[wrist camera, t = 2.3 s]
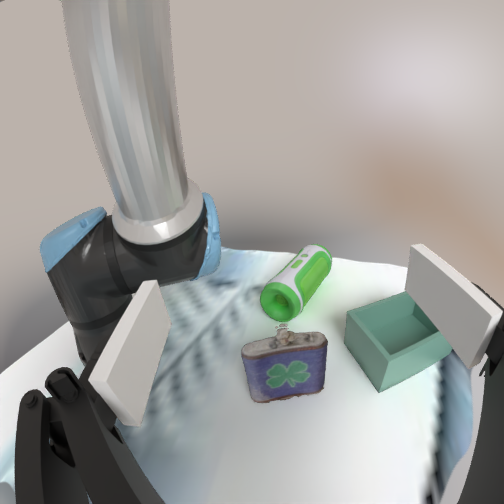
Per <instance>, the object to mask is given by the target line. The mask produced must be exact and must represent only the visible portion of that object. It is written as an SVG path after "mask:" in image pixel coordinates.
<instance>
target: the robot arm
mask: <svg viewBox="0 0 504 504" xmlns="http://www.w3.org/2000/svg"><path fill="white" fill-rule="evenodd" d="M1 1H4V0H0V2H1ZM60 1H61V2H62V5H63V6H62V7H63V15H64V22H65V28H66V35H67V41H68V47H69V52H70V57H71V61H72V66H73V70H74V75H75V79H76V83H77V87H78V91H79V95H80V98H81V101H82V105H83V109H84V112H85V116H86V119H87V122H88V125H89V128H90V132H91V135H92V138H93V141H94V143H95V147H96V149H97V152H98V155H99V158H100V161H101V163H102V166H103V169H104V171H105V174H106V177H107V179H108V182H109V184H110V187H111V189H112V192H113V194H114V197H115V199H116V203H115V205H114V208H113V212H112V215H110V216H107V212H106V211H105V210H104V208H103V207H98V208H95V209H91V210H90V211H87V212H85V213H82V214H80V215H78V216H76V217H74V218H73V219H71V220H69V221H67V222H65V223H64V224H62V225H60V226H59V227H57V228H56V229H54V230H53V231H52V232H50V233H49V234H47V235H46V236H45V237H44V238H43V240H42V242H41V244H40V253H41V256H42V260H43V263H44V266H45V272H46V273H47V274H48V277H49V279H50V281H51V283H52V286H53V288H54V290H55V292H56V295H57V297H58V299H59V301H60V303H61V305H62V307H63V309H64V311H65V313H66V315H67V317H68V319H69V321H70V323H71V325H72V327H73V330H74V335H75V340H76V345H77V349H78V353H79V357H80V359H81V361H82V363H83V365H84V366H85V368H84V370H83V372H82V374H81V376H80V378H79V380H78V378H77V377H76V375H75V374H74V372H73V371H72V370H71V369H70V368H68V367H61V368H58V369H56V370H54V371H53V372H51V374H50V375H49V376H48V377H47V379H46V381H45V388H46V389H47V390H48V392H49V393H50V394H51V395H52V396H53V397H49V398H46V397H45V396H44V395H43V394H42V392H41V391H39V390H37V389H35V390H31V391H28V392H27V393H26V394H25V395H24V396H23V397H22V399H21V402H20V407H19V414H18V421H17V431H16V443H15V495H16V504H89V501H88V496H87V493H88V495H89V497H90V499H91V501H92V503H93V504H165V503H164V501H163V500H162V499H161V497H160V496H159V495H158V493H157V492H156V490H155V489H154V488H153V486H152V485H151V483H150V482H149V480H148V479H147V477H146V476H145V474H144V473H143V471H142V470H141V468H140V466H139V465H138V463H137V462H136V460H135V458H134V457H133V455H132V453H131V451H130V450H129V448H128V446H127V444H126V443H125V441H124V439H123V437H122V435H121V433H120V431H119V430H118V428H117V427H116V426H115V421H116V418H118V419H119V420H120V421H121V423H122V424H123V425H128V426H136V427H141V423H142V419H143V416H144V412H145V409H146V405H147V401H148V398H149V395H150V391H151V388H152V384H153V381H154V378H155V374H156V371H157V368H158V365H159V361H160V358H161V355H162V352H163V349H164V346H165V343H166V340H167V337H168V334H169V331H170V328H171V325H172V323H171V320H170V317H169V315H168V312H167V309H166V306H165V303H164V300H163V297H162V294H161V291H160V288H159V287H162V286H167V285H171V284H175V283H180V282H184V281H189V280H190V281H193V280H197V279H198V278H199V277H203V276H206V275H209V274H212V273H213V272H215V271H216V269H217V268H218V266H219V263H220V258H221V239H220V236H219V231H220V229H219V221H218V215H217V211H216V207H215V204H214V201H213V199H212V197H211V196H210V194H208V193H202V192H201V190H200V188H199V186H198V185H197V184H196V183H195V182H194V181H192V180H191V179H189V178H187V173H186V167H185V160H184V153H183V146H182V139H181V131H180V123H179V115H178V107H177V98H176V88H175V78H174V67H173V56H172V44H171V43H172V42H171V28H170V6H169V0H60ZM405 291H406V292H407V293H408V294H409V295H410V297H411V298H412V299H413V300H414V301H415V302H416V303H417V305H418V306H419V307H420V308H421V309H422V310H423V312H424V313H425V314H426V315H427V316H428V318H429V319H430V320H431V321H432V323H433V324H434V325H435V326H436V327H437V329H438V330H439V331H440V332H441V334H442V335H443V336H444V337H445V339H446V340H447V341H448V343H449V344H450V345H451V347H452V348H453V349H454V350H455V352H456V353H457V354H458V356H459V357H460V358H461V360H462V361H463V363H464V364H465V365H466V367H467V368H468V369H470V368H472V367H474V366H475V365H477V364H479V363H480V362H481V360H482V358H483V356H484V354H485V353H486V354H487V355H488V359H487V361H486V363H485V364H484V366H483V368H482V370H481V372H480V374H479V376H481V375H482V374H483V372H484V371H485V375H484V377H485V385H484V396H483V405H482V412H481V419H480V425H479V430H478V436H477V441H476V445H475V449H474V454H473V458H472V461H471V465H470V469H469V472H468V475H467V479H466V482H465V485H464V488H463V491H462V493H461V496H460V499H459V501H458V503H457V504H504V308H502V307H501V306H500V305H499V304H498V303H497V302H496V301H495V300H494V299H492V298H490V296H489V295H488V294H487V293H485V291H484V290H483V289H481V288H480V287H479V286H478V285H476V284H474V283H472V282H470V281H468V280H467V279H466V278H465V277H464V276H462V275H461V274H460V273H459V272H458V271H456V270H455V269H454V268H453V267H452V266H450V265H449V264H448V263H446V262H445V261H444V260H443V259H441V258H440V257H439V256H437V255H436V254H435V253H433V252H432V251H431V250H430V249H428V248H427V247H425V246H424V245H423V244H416V245H411V247H410V256H409V265H408V272H407V278H406V285H405ZM132 293H136V294H135V296H134V297H132V295H131V294H132ZM49 439H50V444H49Z"/></svg>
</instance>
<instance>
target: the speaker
mask: <svg viewBox="0 0 504 504" xmlns="http://www.w3.org/2000/svg"><path fill="white" fill-rule="evenodd" d="M331 266H332V257H331V255H330V253H329V251H328V250H327V249H326V248H325V247H323V246H321V245H318V244H313V245H309V246H306V247H304V248H303V249H301V250H300V252H299V254H298V255H296V257H295V258H294V259H293V260H292V261H291V262H290V263H289V264H288V265H287V266H286V267H285V268H284V269H283V270H282V271H281V272H280V273H278V274H277V275H276V276H275V277H274V278H272V279H271V280H270V281H269V282H268V283H267V284H266V286H265V287H264V289H263V291H262V293H261V296H260V302H261V306H262V308H263V309H264V311H265V312H266V313H267V314H268V315H269V316H270V317H271V318H273V319H275V320H277V321H281V322H286V321H290V320H291V319H293V318H295V317H296V316H297V315H298V314H300V313H301V312H302V310H303V307H304V306H305V305H306V303H307V302H308V301H309V299H310V298H311V296H312V295H313V294H314V292H315V291H316V289H317V288H318V287H319V285H320V284H321V282H322V281H323V280H324V278H325V277H326V276H327V275H328V274H329V272H330V269H331Z"/></svg>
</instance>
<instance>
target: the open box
mask: <svg viewBox="0 0 504 504" xmlns="http://www.w3.org/2000/svg"><path fill="white" fill-rule="evenodd" d="M344 344H345V346H346V347H347V348H348V350H349V351H350V353H351V354H352V355H353V357H354V358H355V360H356V361H357V362H358V364H359V365H360V367H361V368H362V370H363V371H364V372H365V374H366V375H367V377H368V378H369V380H370V381H371V382H372V384H373V385H374V387H375V388H376V390H377V391H378V393H380V392H382V391H384V390H386V389H388V388H390V387H392V386H394V385H396V384H398V383H400V382H402V381H404V380H406V379H408V378H410V377H411V376H413V375H415V374H417V373H419V372H420V371H422V370H424V369H426V368H427V367H429V366H431V365H432V364H434V363H436V362H437V361H439V360H441V359H442V358H444V357H445V356H447V355H448V354H450V352H451V350H452V347H451V345H450V344H449V343H448V341H447V340H446V339H445V337H444V336H443V335H442V334H441V332H440V331H439V330H438V329H437V327H436V326H435V325H434V324H433V323H432V321H431V320H430V319H429V318H428V316H427V315H426V314H425V313H424V312H423V310H422V309H421V308H420V307H419V306H418V305H417V303H416V302H415V301H414V300H413V299H412V298H411V297H410V295H409V294H408V293H407V292H406V291H405V292H402V293H400V294H397V295H394V296H391V297H389V298H386V299H383V300H380V301H377V302H374V303H372V304H369V305H366V306H363V307H360V308H357V309H354V310H350V311H347V319H346V330H345V339H344Z"/></svg>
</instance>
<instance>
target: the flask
mask: <svg viewBox="0 0 504 504" xmlns="http://www.w3.org/2000/svg"><path fill="white" fill-rule="evenodd" d="M279 326H280V327H284V326H286V327H287V326H288V325H287V324H280V325H279ZM275 328H278V326H276V327H275ZM287 329H289V328H281V329H278V330H277V335H276V336H275V337H271V338H266V339H263V340H259V341H255V342H252V343H248V344H246V345H244V347H243V348H242V350H241V355H242V359H243V363H244V366H245V371H246V375H247V381H248V384H249V388H250V393H251V397H252V399H253V400H254V402H258V403H269V401H274V400H286V399H291V398H292V397H293V396H298V397H299V396H301V395H310V394H317V393H319V392H320V391H321V390H322V389H324V388H323V385H324V380H325V370H326V356H327V345H328V341H327V339H326V337H325V335H324V334H322V333H320V332H307V333H294V332H291V331H287Z"/></svg>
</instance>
